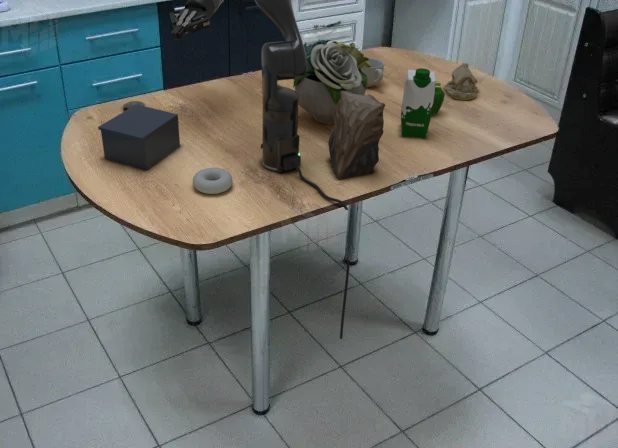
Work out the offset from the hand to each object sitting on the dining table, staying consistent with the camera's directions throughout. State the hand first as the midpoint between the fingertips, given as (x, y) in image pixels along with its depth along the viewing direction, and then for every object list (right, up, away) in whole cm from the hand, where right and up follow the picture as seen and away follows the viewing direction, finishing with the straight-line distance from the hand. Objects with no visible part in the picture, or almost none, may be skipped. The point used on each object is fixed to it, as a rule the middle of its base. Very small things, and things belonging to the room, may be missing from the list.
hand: (174, 36), depth 183 cm
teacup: (+57, -4, +47) cm, 74 cm away
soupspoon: (-14, -20, +18) cm, 30 cm away
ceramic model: (+89, -6, +45) cm, 100 cm away
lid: (-8, -24, -5) cm, 26 cm away
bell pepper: (+75, -16, +30) cm, 82 cm away
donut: (+12, -42, -13) cm, 45 cm away
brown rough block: (+47, -36, -3) cm, 60 cm away
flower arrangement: (+43, -19, +24) cm, 52 cm away
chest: (-9, -31, 0) cm, 33 cm away
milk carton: (+68, -24, +18) cm, 74 cm away
